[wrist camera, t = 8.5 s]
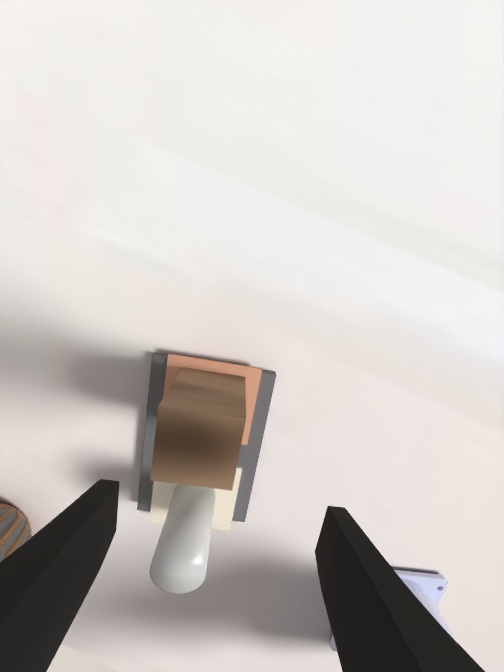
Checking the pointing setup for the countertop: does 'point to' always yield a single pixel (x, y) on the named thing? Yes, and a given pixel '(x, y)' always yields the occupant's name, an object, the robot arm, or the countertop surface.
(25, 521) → the vase
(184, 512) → the grey peg
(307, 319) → the countertop surface
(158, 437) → the walnut block
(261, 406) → the mat
